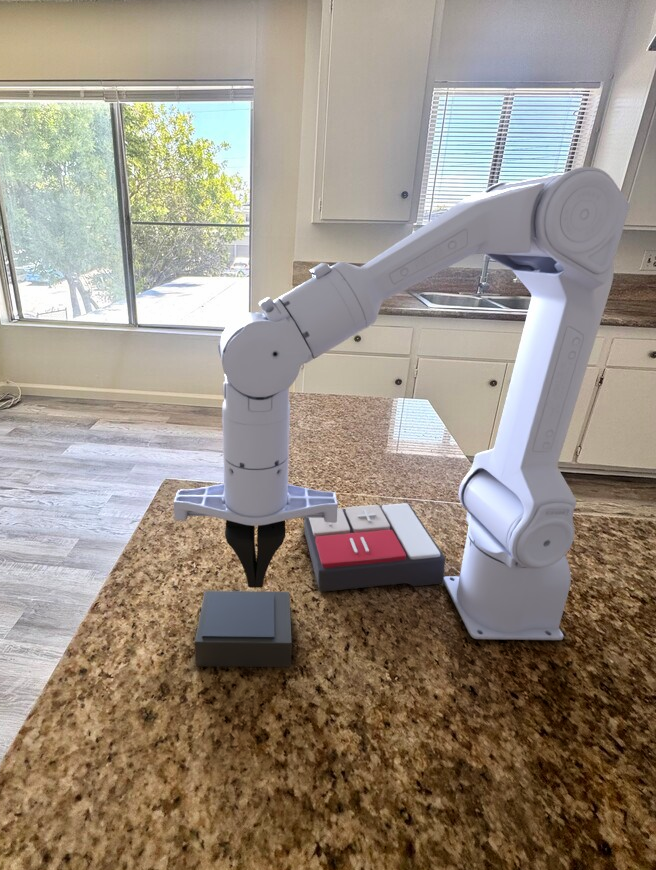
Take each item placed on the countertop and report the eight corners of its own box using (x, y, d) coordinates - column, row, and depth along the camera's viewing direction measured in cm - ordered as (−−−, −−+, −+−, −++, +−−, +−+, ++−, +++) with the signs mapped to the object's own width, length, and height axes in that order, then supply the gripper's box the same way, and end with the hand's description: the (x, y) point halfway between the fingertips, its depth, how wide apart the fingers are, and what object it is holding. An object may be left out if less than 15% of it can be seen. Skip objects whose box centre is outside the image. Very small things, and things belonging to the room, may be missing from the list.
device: (289, 590, 44) (204, 589, 44) (291, 642, 39) (194, 641, 39) (288, 613, 45) (205, 612, 45) (290, 667, 40) (195, 666, 40)
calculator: (303, 507, 57) (409, 497, 59) (303, 533, 59) (407, 523, 60) (319, 566, 47) (447, 553, 48) (319, 596, 48) (444, 583, 49)
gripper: (333, 433, 40) (325, 550, 44) (182, 431, 40) (188, 549, 44) (345, 472, 33) (335, 606, 37) (164, 470, 33) (173, 604, 37)
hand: (255, 579), depth 40 cm, fingers closed
